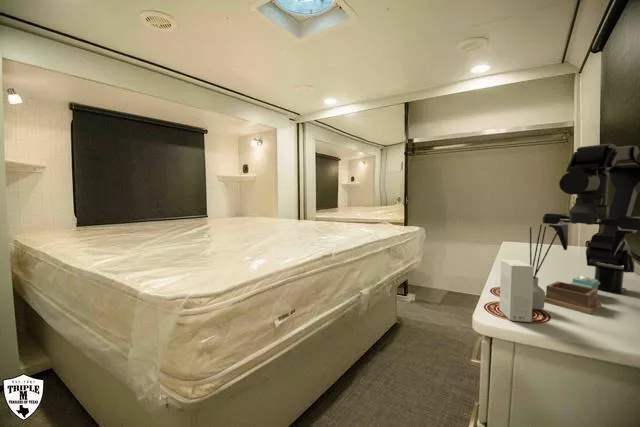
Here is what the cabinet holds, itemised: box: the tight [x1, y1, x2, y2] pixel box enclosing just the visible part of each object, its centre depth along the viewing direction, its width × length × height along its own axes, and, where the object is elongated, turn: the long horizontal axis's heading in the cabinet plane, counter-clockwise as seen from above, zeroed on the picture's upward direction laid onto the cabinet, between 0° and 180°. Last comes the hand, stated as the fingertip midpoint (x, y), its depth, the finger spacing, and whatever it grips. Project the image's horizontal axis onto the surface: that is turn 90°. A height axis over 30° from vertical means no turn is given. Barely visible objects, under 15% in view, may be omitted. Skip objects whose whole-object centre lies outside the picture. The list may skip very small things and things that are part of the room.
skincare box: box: [498, 259, 535, 323], centre depth 61 cm, size 6×4×12 cm
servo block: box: [569, 275, 600, 291], centre depth 75 cm, size 9×4×5 cm, turn 123°
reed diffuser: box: [529, 224, 559, 310], centre depth 64 cm, size 10×7×20 cm
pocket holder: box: [544, 280, 602, 315], centre depth 69 cm, size 9×9×4 cm
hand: (587, 252), depth 73 cm, fingers open, 9 cm apart
